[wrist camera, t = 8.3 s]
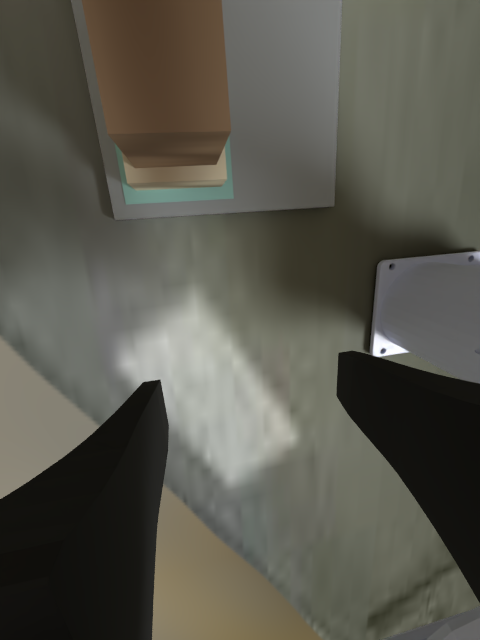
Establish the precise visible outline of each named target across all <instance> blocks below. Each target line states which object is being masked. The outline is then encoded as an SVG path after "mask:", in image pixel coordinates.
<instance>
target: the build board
mask: <svg viewBox="0 0 480 640" xmlns="http://www.w3.org/2000/svg"><path fill="white" fill-rule="evenodd" d="M71 3H72V8H73V13H74V18H75V23H76V28H77V33H78V38H79V43H80V48H81V53H82V58H83V63H84V68H85V73H86V78H87V83H88V88H89V93H90V98H91V103H92V108H93V113H94V118H95V123H96V128H97V133H98V138H99V143H100V148H101V153H102V158H103V163H104V169H105V174H106V179H107V184H108V189H109V194H110V199H111V204H112V209H113V214H114V219H115V220H133V219H149V218H165V217H180V216H196V215H212V214H228V213H244V212H260V211H276V210H291V209H307V208H323V207H332V206H334V204H335V177H336V150H337V123H338V97H339V70H340V43H341V17H342V0H222V11H223V25H224V39H225V53H226V66H227V80H228V94H229V108H230V121H231V133H230V135H229V137H228V140H227V142H226V144H225V156H226V170H227V180H226V181H225V183H224V184H223V185H222V187H202V188H181V189H160V190H139V191H136V190H135V189H133V188H132V187H131V186H130V185H129V184H127V179H126V173H125V168H124V162H123V157H122V151H121V150H120V149H119V148H118V146H117V145H116V144H115V143H114V141H113V140H112V139H111V138H110V136H109V135H108V133H107V128H106V123H105V117H104V112H103V107H102V102H101V97H100V92H99V87H98V82H97V77H96V71H95V66H94V61H93V56H92V51H91V46H90V41H89V36H88V31H87V25H86V20H85V15H84V10H83V5H82V0H71Z"/></svg>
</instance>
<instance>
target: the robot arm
mask: <svg viewBox="0 0 480 640" xmlns="http://www.w3.org/2000/svg"><path fill="white" fill-rule="evenodd" d="M468 258H469V260H468ZM390 264H391V265H392V266H391V268H390V269H389V265H390ZM381 349H383V350H382V351H381ZM380 351H381V352H380ZM406 352H411V353H412V354H414V355H416V356H418V357H420V358H422V359H424V360H426V361H427V362H429V363H431V364H433V365H435V366H437V367H439V368H440V369H442V370H444V371H446V372H448V373H450V374H452V375H453V376H455V377H457V378H459V379H455V378H450V377H446V376H442V375H438V374H434V373H430V372H426V371H423V370H419V369H415V368H412V367H408V366H405V365H402V364H398V363H395V362H392V361H389V360H385V359H382V358H379V357H381V356H387V355H393V354H400V353H406ZM370 354H371V355H369V354H365V353H361V352H356V351H348V352H341V353H339V356H338V376H337V397H338V399H339V401H340V402H341V404H342V406H343V407H344V409H345V410H346V412H347V413H348V415H349V416H350V417H351V419H352V420H353V421H354V422H355V423H356V425H357V426H358V427H359V428H360V429H361V431H362V432H363V433H364V434H365V435H366V436H367V438H368V439H369V440H370V441H371V442H372V443H373V444H374V446H375V447H376V448H377V449H378V450H379V451H380V453H381V454H382V455H383V456H384V457H385V458H386V460H387V461H388V462H389V463H390V465H391V466H392V467H393V468H394V470H395V471H396V472H397V473H398V475H399V476H400V478H401V479H402V481H403V482H404V483H405V485H406V486H407V488H408V489H409V490H410V492H411V493H412V495H413V496H414V498H415V499H416V501H417V502H418V504H419V505H420V507H421V508H422V510H423V511H424V513H425V514H426V516H427V517H428V519H429V520H430V522H431V523H432V525H433V526H434V528H435V529H436V531H437V533H438V534H439V536H440V537H441V539H442V541H443V542H444V544H445V545H446V547H447V549H448V550H449V552H450V553H451V555H452V557H453V558H454V560H455V561H456V563H457V565H458V566H459V568H460V570H461V571H462V573H463V575H464V577H465V578H466V580H467V582H468V584H469V585H470V587H471V589H472V590H473V592H474V594H475V596H476V597H477V599H478V601H479V602H480V251H472V252H462V253H452V254H441V255H431V256H421V257H411V258H400V259H390V260H382V261H381V262H379V264H378V266H377V275H376V286H375V297H374V308H373V320H372V331H371V342H370ZM460 379H461V380H460ZM168 429H169V425H168V419H167V414H166V408H165V403H164V397H163V392H162V386H161V381H160V380H155V381H148V382H143V383H142V384H141V385H140V386H139V387H138V388H137V390H136V391H135V392H134V393H133V394H132V395H131V396H130V397H129V398H128V399H127V400H126V401H125V403H124V404H123V405H122V406H121V407H120V408H119V409H118V410H117V411H116V412H115V413H114V414H113V415H112V416H111V417H110V418H109V419H108V420H107V421H106V422H105V423H103V424H102V425H101V426H100V427H99V428H98V429H97V430H96V431H95V432H94V433H93V434H92V435H90V436H89V437H88V438H87V439H86V440H85V441H83V442H82V443H81V444H80V445H79V446H77V447H76V448H75V449H73V450H72V451H71V452H70V453H69V454H67V455H66V456H65V457H63V458H62V459H60V460H59V461H58V462H56V463H55V464H53V465H52V466H50V467H49V468H48V469H46V470H45V471H43V472H42V473H41V474H39V475H37V476H36V477H35V478H33V479H32V480H30V481H29V482H27V483H26V484H24V485H23V486H21V487H19V488H18V489H16V490H15V491H13V492H11V493H10V494H8V495H7V496H5V497H3V498H2V499H0V640H152V619H153V594H154V573H155V553H156V534H157V523H158V514H159V507H160V500H161V494H162V487H163V480H164V474H165V467H166V460H167V453H168ZM381 640H480V606H478V607H476V608H474V609H472V610H469V611H466V612H463V613H460V614H457V615H454V616H451V617H448V618H445V619H442V620H439V621H436V622H433V623H430V624H427V625H424V626H421V627H418V628H415V629H412V630H409V631H406V632H403V633H399V634H396V635H393V636H390V637H387V638H384V639H381Z"/></svg>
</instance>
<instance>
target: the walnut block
mask: <svg viewBox="0 0 480 640" xmlns="http://www.w3.org/2000/svg"><path fill="white" fill-rule="evenodd" d="M82 5H83V10H84V15H85V20H86V25H87V31H88V36H89V41H90V46H91V51H92V56H93V61H94V66H95V71H96V77H97V82H98V87H99V92H100V97H101V102H102V107H103V112H104V117H105V123H106V128H107V133H108V135H109V136H110V138H111V139H112V140H113V141H114V143H115V144H116V145H117V146H118V148H119V149H120V150H121V151H122V152H123V154H124V155H125V156H126V157H127V159H128V160H129V161H130V162H131V164H132V165H133V166H134V167H135V168H154V167H177V166H200V165H217V162H218V160H219V158H220V155H221V153H222V151H223V149H224V146H225V144H226V142H227V140H228V137H229V135H230V133H231V121H230V108H229V94H228V80H227V66H226V53H225V39H224V25H223V11H222V0H82Z"/></svg>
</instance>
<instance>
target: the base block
mask: <svg viewBox="0 0 480 640" xmlns="http://www.w3.org/2000/svg"><path fill="white" fill-rule="evenodd" d="M122 157H123V162H124V168H125V173H126V179H127V184H129V185H130V186H131V187H132V188H133V189H135V190H136V191H139V190H160V189H181V188H202V187H222V185H223V184H224V183H225V181H226V180H227V170H226V156H225V146H224V149H223V151H222V153H221V155H220V158H219V160H218V162H217V165H200V166H177V167H154V168H135V167H134V166H133V165H132V164H131V162H130V161H129V160H128V159H127V157H126V156H125V155H124V154H123V152H122Z"/></svg>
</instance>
